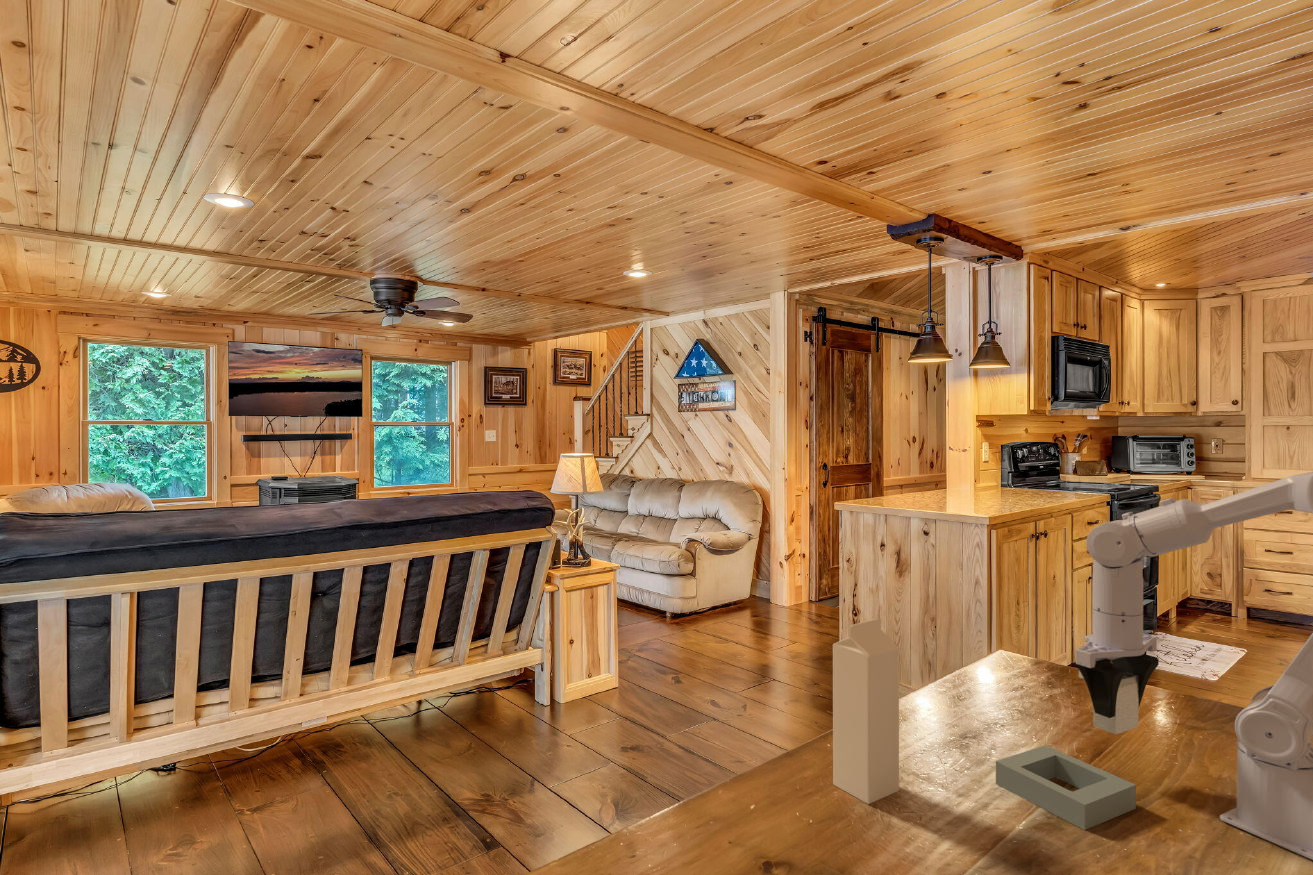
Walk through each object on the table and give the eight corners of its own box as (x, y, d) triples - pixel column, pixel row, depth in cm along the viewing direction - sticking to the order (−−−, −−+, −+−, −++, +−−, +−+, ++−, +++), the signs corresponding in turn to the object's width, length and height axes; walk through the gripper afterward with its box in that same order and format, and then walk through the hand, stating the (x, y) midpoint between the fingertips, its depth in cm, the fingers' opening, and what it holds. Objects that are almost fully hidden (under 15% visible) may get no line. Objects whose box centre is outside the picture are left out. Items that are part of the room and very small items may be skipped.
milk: (899, 791, 93) (900, 623, 92) (867, 805, 90) (869, 631, 89) (862, 772, 98) (863, 612, 97) (831, 784, 95) (832, 619, 94)
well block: (1135, 808, 88) (1135, 784, 88) (1084, 829, 84) (1084, 804, 84) (1045, 766, 99) (1045, 744, 99) (995, 783, 94) (995, 761, 94)
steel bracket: (1138, 726, 96) (1138, 675, 96) (1115, 734, 94) (1115, 681, 93) (1101, 713, 100) (1101, 664, 100) (1078, 720, 98) (1078, 669, 98)
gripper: (1119, 597, 102) (1119, 691, 103) (1053, 610, 96) (1053, 710, 96) (1173, 608, 96) (1172, 708, 96) (1106, 623, 90) (1106, 730, 90)
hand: (1116, 710), depth 96 cm, fingers closed on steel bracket, 5 cm apart
